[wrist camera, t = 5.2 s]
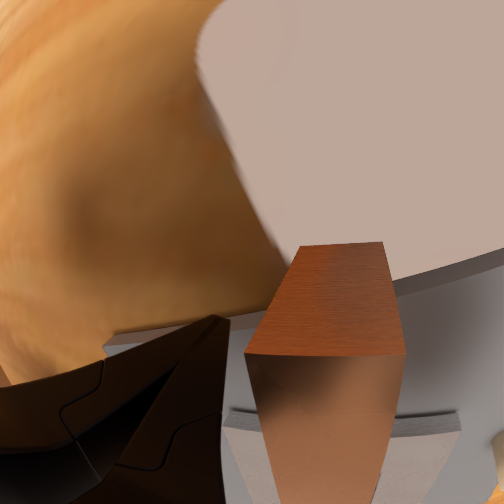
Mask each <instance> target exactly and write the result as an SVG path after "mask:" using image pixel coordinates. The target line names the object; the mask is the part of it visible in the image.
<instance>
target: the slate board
mask: <svg viewBox="0 0 504 504" xmlns="http://www.w3.org/2000/svg"><path fill="white" fill-rule="evenodd" d="M392 283H393V287H394V292H395V296H396V301H397V306H398V311H399V316H400V321H401V327H402V332H403V338H404V344H405V350H406V358H405V365H404V371H403V378H402V384H401V389H400V395H399V400H398V405H397V410H396V414H395V419H404V418H418V417H429V416H438V415H447V414H454V413H458V414H459V419H460V424H461V429H462V431H461V433H460V435H459V438H458V440H457V442H456V444H455V446H454V448H453V450H452V452H451V453H450V455H449V457H448V459H447V461H446V463H445V465H444V466H443V468H442V470H441V472H440V473H439V475H438V477H437V479H436V480H435V482H434V483H433V485H432V487H431V488H430V490H429V492H428V493H427V495H426V496H425V498H424V499H423V501H422V502H421V504H482V503H485V502H488V500H489V499H490V497H491V495H492V493H493V491H494V489H495V487H496V485H497V484H498V483H499V490H500V491H504V248H502V249H499V250H496V251H493V252H490V253H486V254H483V255H480V256H477V257H474V258H471V259H467V260H464V261H461V262H458V263H454V264H451V265H448V266H444V267H441V268H438V269H434V270H431V271H427V272H423V273H420V274H416V275H413V276H409V277H405V278H402V279H398V280H394V281H392ZM266 311H267V310H264V311H259V312H254V313H249V314H243V315H238V316H233V317H227V319H230V320H231V326H230V337H229V347H228V358H227V369H226V380H225V391H224V402H223V413H222V415H223V416H222V425H223V423H224V421H225V420H226V418H227V416H228V414H229V412H230V411H237V412H244V413H251V414H258V413H257V409H256V405H255V401H254V396H253V392H252V388H251V383H250V379H249V375H248V370H247V366H246V362H245V357H244V351H245V349H246V348H247V346H248V344H249V342H250V340H251V338H252V337H253V335H254V333H255V331H256V329H257V327H258V326H259V324H260V322H261V320H262V318H263V316H264V314H265V313H266ZM186 325H188V324H186ZM186 325H180V326H174V327H167V328H160V329H154V330H147V331H139V332H132V333H124V334H117V335H114V336H113V337H112V338H111V339H110V340H109V341H107V342H106V343H105V344H104V345H103V346H102V347H103V349H104V351H105V352H106V354H107V356H108V357H110V356H113V355H115V354H118V353H120V352H123V351H125V350H128V349H130V348H133V347H135V346H138V345H140V344H143V343H145V342H148V341H150V340H153V339H155V338H157V337H160V336H162V335H165V334H167V333H169V332H172V331H174V330H177V329H179V328H181V327H184V326H186ZM221 458H222V471H223V480H224V488H225V497H226V504H254V503H253V501H252V499H251V496H250V494H249V492H248V490H247V487H246V485H245V483H244V480H243V478H242V476H241V473H240V471H239V468H238V466H237V463H236V461H235V459H234V456H233V454H232V451H231V448H230V446H229V443H228V441H227V438H226V436H225V433H224V430H223V428H222V427H221Z"/></svg>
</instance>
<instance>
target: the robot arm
mask: <svg viewBox="0 0 504 504" xmlns="http://www.w3.org/2000/svg"><path fill="white" fill-rule="evenodd" d="M230 326H231V320H230V319H227V318H224V317H221V316H218V315H215V314H212V315H209V316H207V317H205V318H202V319H200V320H198V321H195V322H193V323H191V324H188V325H186V326H184V327H181V328H179V329H177V330H174V331H172V332H169V333H167V334H165V335H162V336H160V337H157V338H155V339H153V340H150V341H148V342H145V343H143V344H140V345H138V346H135V347H133V348H130V349H128V350H125V351H123V352H120V353H118V354H115V355H113V356H110V357H108V358H105V359H104V360H100V361H97V362H94V363H92V364H89V365H86V366H84V367H81V368H78V369H75V370H72V371H69V372H65V373H62V374H58V375H55V376H51V377H47V378H43V379H39V380H35V381H30V382H26V383H22V384H17V385H13V386H8V387H0V504H226V497H225V488H224V480H223V471H222V458H221V427H222V416H223V415H222V413H223V402H224V391H225V380H226V369H227V358H228V347H229V337H230Z"/></svg>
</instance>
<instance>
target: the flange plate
mask: <svg viewBox="0 0 504 504" xmlns="http://www.w3.org/2000/svg"><path fill="white" fill-rule="evenodd" d="M244 357H245V362H246V366H247V370H248V375H249V379H250V383H251V388H252V392H253V396H254V401H255V405H256V409H257V413H258V414H251V413H244V412H237V411H230V412H229V414H228V416H227V418H226V420H225V421H224V423H223V425H222V428H223V430H224V433H225V436H226V438H227V441H228V443H229V446H230V448H231V451H232V454H233V456H234V459H235V461H236V463H237V466H238V468H239V471H240V473H241V476H242V478H243V480H244V483H245V485H246V487H247V490H248V492H249V494H250V496H251V499H252V501H253V503H254V504H421V502H422V501H423V499H424V498H425V496H426V495H427V493H428V492H429V490H430V488H431V487H432V485H433V483H434V482H435V480H436V479H437V477H438V475H439V473H440V472H441V470H442V468H443V466H444V465H445V463H446V461H447V459H448V457H449V455H450V453H451V452H452V450H453V448H454V446H455V444H456V442H457V440H458V438H459V435H460V433H461V431H462V429H461V424H460V419H459V414H458V413H454V414H447V415H438V416H429V417H418V418H404V419H395V414H396V410H397V405H398V400H399V395H400V389H401V384H402V378H403V371H404V365H405V358H406V350H405V344H404V338H403V332H402V327H401V321H400V316H399V311H398V306H397V301H396V296H395V292H394V287H393V283H392V278H391V274H390V270H389V266H388V262H387V258H386V254H385V250H384V246H383V242H370V243H369V242H368V243H350V244H332V245H314V246H300V248H299V250H298V251H297V254H296V256H295V257H294V259H293V261H292V263H291V265H290V267H289V269H288V271H287V273H286V275H285V277H284V279H283V280H282V282H281V284H280V286H279V288H278V290H277V292H276V294H275V296H274V298H273V299H272V301H271V303H270V305H269V307H268V309H267V311H266V313H265V314H264V316H263V318H262V320H261V322H260V324H259V326H258V327H257V329H256V331H255V333H254V335H253V337H252V338H251V340H250V342H249V344H248V346H247V348H246V349H245V351H244Z"/></svg>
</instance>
